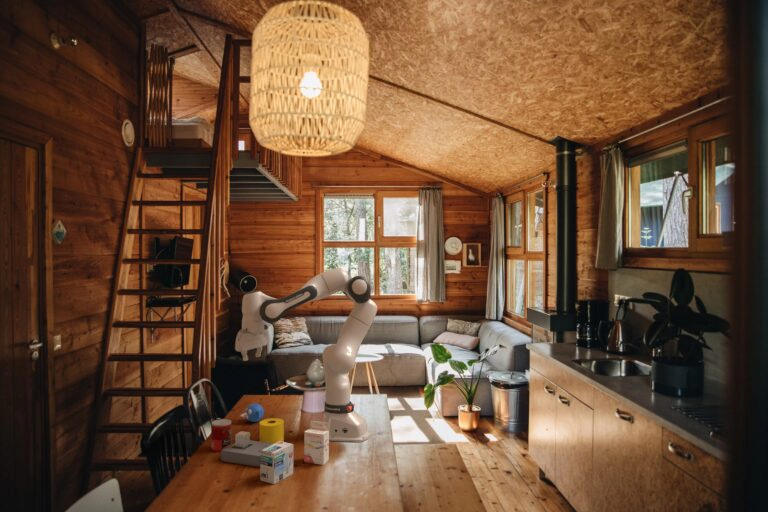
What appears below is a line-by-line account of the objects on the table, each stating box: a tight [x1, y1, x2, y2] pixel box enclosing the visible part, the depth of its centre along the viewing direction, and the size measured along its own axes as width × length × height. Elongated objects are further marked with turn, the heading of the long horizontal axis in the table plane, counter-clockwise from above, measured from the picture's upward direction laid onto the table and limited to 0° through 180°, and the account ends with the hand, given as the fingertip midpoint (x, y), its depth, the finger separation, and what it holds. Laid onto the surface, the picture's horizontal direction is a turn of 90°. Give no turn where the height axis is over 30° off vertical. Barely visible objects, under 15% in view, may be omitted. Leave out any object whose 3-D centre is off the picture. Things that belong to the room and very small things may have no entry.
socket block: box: [220, 439, 274, 468], centre depth 190 cm, size 20×13×4 cm, turn 71°
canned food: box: [210, 418, 232, 453], centre depth 200 cm, size 8×8×11 cm
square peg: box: [234, 430, 251, 450], centre depth 192 cm, size 4×4×9 cm
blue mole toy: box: [239, 403, 265, 423], centre depth 233 cm, size 12×12×8 cm
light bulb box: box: [259, 441, 294, 485], centre depth 173 cm, size 11×7×11 cm, turn 151°
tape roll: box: [259, 417, 285, 444], centre depth 204 cm, size 10×10×9 cm
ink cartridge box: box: [303, 420, 330, 466], centre depth 187 cm, size 9×5×15 cm, turn 71°
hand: (251, 358), depth 215 cm, fingers open, 8 cm apart
